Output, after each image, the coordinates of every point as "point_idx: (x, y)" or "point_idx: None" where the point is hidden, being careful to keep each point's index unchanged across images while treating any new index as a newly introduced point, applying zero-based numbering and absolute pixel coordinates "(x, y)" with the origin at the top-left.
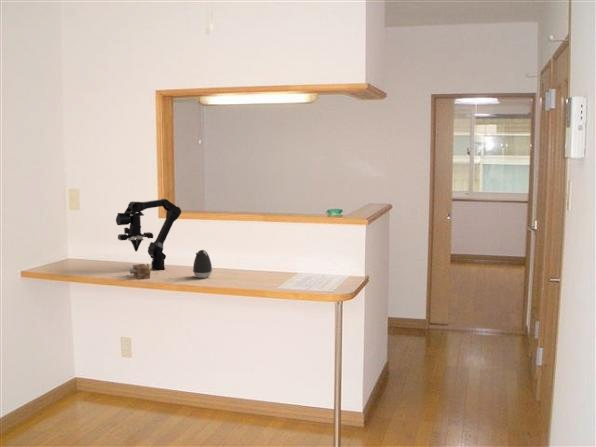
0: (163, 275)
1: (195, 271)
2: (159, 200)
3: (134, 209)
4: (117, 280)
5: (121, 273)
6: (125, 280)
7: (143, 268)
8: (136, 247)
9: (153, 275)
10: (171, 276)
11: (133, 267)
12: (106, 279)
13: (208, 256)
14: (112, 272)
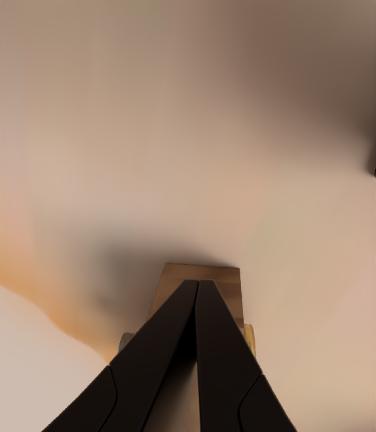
0: (332, 345)
1: None
2: None
3: None
4: (64, 328)
5: (95, 150)
6: (103, 345)
7: (189, 430)
8: (189, 406)
9: (279, 318)
10: (356, 383)
11: (152, 308)
12: (6, 281)
13: None
14: (24, 65)
